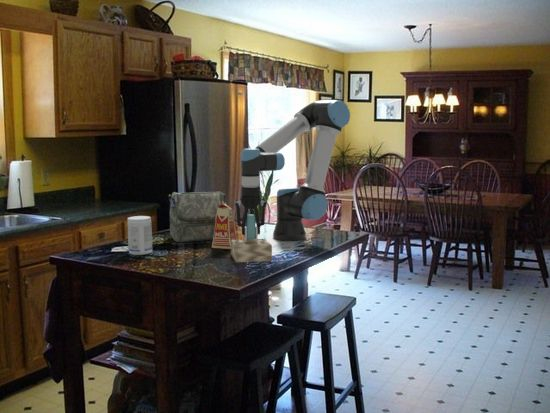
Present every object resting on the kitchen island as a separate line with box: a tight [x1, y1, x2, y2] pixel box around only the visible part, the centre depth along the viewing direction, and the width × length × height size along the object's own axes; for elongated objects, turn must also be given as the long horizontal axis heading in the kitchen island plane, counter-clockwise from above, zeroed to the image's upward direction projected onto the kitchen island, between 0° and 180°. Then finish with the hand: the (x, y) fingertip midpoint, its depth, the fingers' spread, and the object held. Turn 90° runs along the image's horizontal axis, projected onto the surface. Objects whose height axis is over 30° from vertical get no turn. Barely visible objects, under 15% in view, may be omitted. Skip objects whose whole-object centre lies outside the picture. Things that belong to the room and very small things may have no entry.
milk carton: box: [211, 201, 237, 250], centre depth 266 cm, size 9×9×20 cm
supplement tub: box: [127, 215, 153, 256], centre depth 253 cm, size 10×10×15 cm
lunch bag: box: [168, 190, 226, 243], centre depth 284 cm, size 26×18×22 cm
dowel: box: [245, 214, 256, 240], centre depth 257 cm, size 4×4×15 cm
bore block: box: [230, 238, 273, 263], centre depth 245 cm, size 14×14×6 cm
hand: (250, 242), depth 258 cm, fingers closed on dowel, 4 cm apart
